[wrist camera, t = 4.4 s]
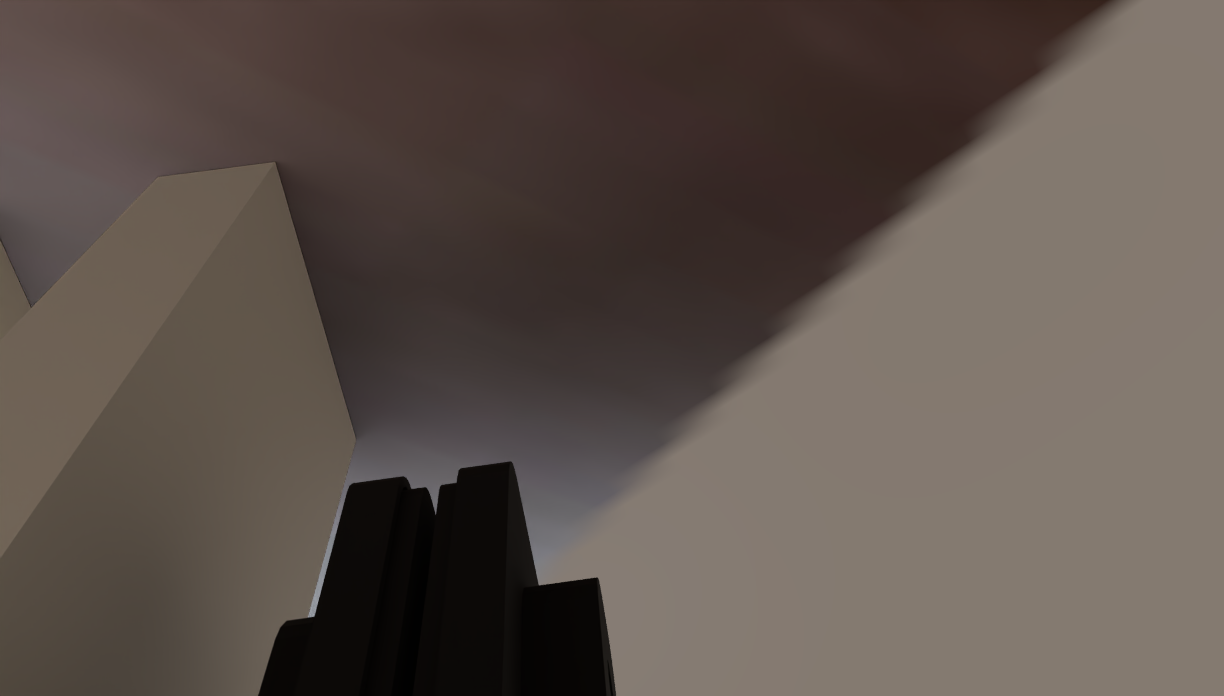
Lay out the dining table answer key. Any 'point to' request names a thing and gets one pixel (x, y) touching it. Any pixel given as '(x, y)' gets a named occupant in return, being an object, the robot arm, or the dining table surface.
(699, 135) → the dining table surface
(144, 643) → the tile
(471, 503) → the robot arm
